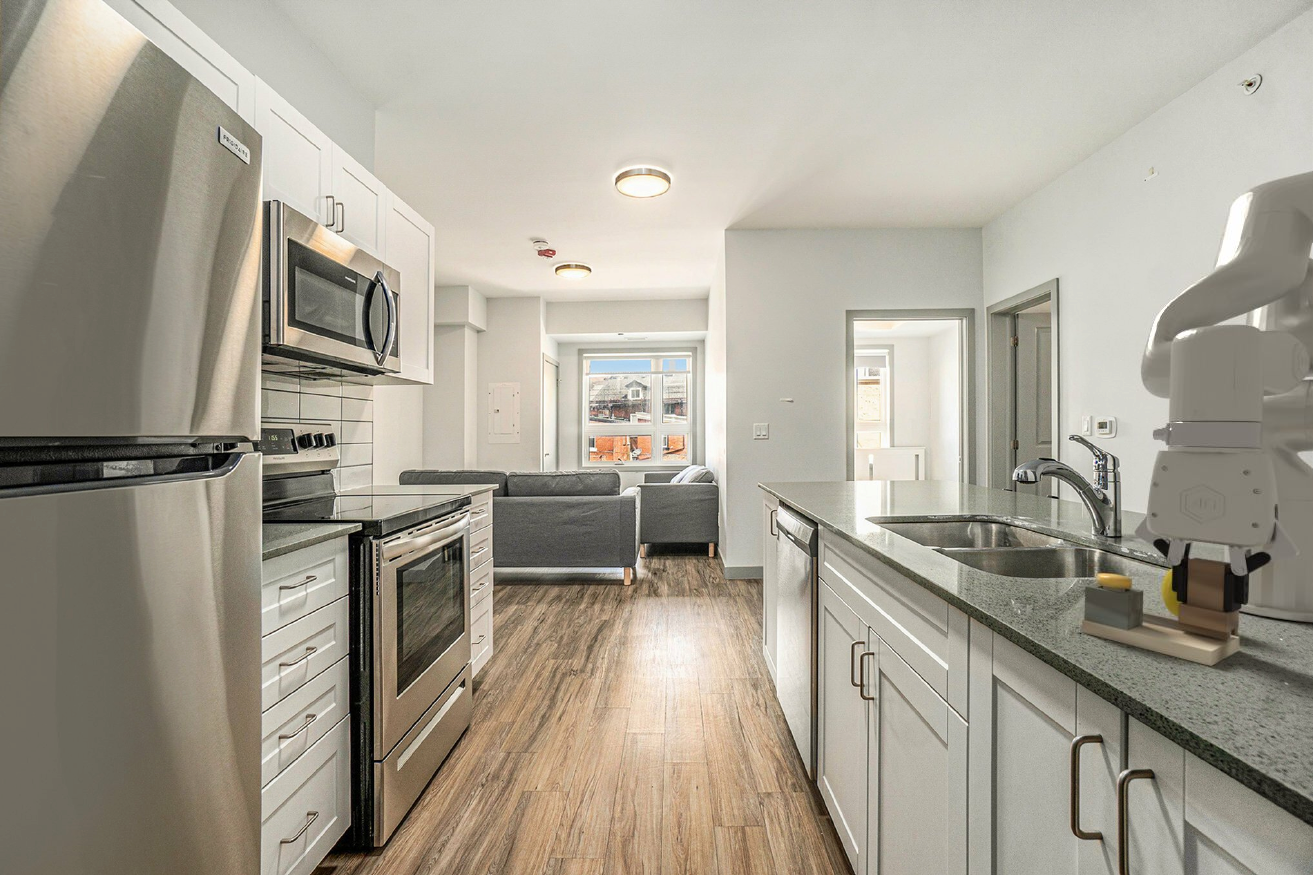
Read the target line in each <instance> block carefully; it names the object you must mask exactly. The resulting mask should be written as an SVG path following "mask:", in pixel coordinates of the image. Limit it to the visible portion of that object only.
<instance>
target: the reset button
mask: <svg viewBox="0 0 1313 875" xmlns="http://www.w3.org/2000/svg"><path fill="white" fill-rule="evenodd" d="M1096 575H1097V577H1096V584H1097V583H1098V584H1100V585H1103V589H1107V590H1112V591H1117V592H1122V593H1123V592H1125V589H1130V588H1132V589H1133V587H1132V586H1133V585H1132V584H1133V578H1131V577H1130V576H1126V575H1121V574H1117V573H1097V574H1096Z"/></svg>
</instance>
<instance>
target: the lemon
mask: <svg viewBox="0 0 1313 875" xmlns="http://www.w3.org/2000/svg"><path fill="white" fill-rule="evenodd" d="M1161 597H1162V601H1163V604H1164V605H1165V608H1166V609H1167V610H1168V611H1169V613H1171V614H1172V615H1174V616H1175V618H1178V605H1179V604H1180V603H1183V602H1179V601H1177V592H1173V591H1172V568H1170V570H1168V571H1167V572H1166V574H1165V576H1164V578H1163V580H1162V584H1161Z"/></svg>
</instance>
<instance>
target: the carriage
mask: <svg viewBox="0 0 1313 875" xmlns="http://www.w3.org/2000/svg"><path fill="white" fill-rule="evenodd" d="M1230 567H1231V563H1229V562H1224V561H1220V560H1215V559H1208V558H1202V557H1201V558H1200V557H1193V558H1190V559H1189V560H1188V585H1187V602H1183V603H1180V604H1179V605H1178V617H1177V618H1178V622H1179V628H1178V629H1182V630H1186V631H1191V632H1195V633H1199V634H1204V635H1208V636H1212V637H1217V638H1221V639H1225V640H1227V639H1229V638H1230V631H1231V635H1233V636H1237V635H1238V634H1239V626H1240V625H1239V620H1240V611H1239V610H1237V611H1235V612H1229V611H1226V609H1224V577H1225V574H1228V573H1229V568H1230Z"/></svg>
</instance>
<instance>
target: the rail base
mask: <svg viewBox="0 0 1313 875" xmlns="http://www.w3.org/2000/svg"><path fill="white" fill-rule="evenodd" d="M1084 590H1085V591H1084V613H1083V615H1084V618H1083V619H1082V621H1081V622H1082V623H1081V633H1083V634H1087V635H1091V636H1095V637H1098V638H1102V639H1107V640H1110V641H1115V642H1119V643H1122V644H1125V645H1129V646H1132V647H1136V648H1140V649H1145V650H1148V651H1153V652H1156V653H1159V654H1163V655H1167V656H1171V657H1175V658H1179V659H1182V660H1186V661H1190V662H1194V663H1198V664H1200V665H1201V664H1202V665H1205V666H1210V667H1211V666H1214V665H1216V664H1217V663H1219V662H1221V661H1224V660H1225V659H1227V658H1228V657H1230V656H1232V655H1233V654H1235V653H1237V652H1239V651H1240V641H1241V640H1240V636H1237V635H1235V636H1233V635H1231V631H1230V638H1229V639H1227V640H1225V639H1221V638H1217V637H1212V636H1208V635H1204V634H1199V633H1195V632H1191V631H1186V630H1182V629H1178V628H1179V622H1178V617H1174V616H1169V615H1165V614H1160V613H1154V612H1151V611H1145V610H1144V590H1142V589H1136V588H1133V587H1132V588H1130V589H1125V592H1123V593H1122V592H1117V591H1112V590H1107V589H1103V585H1100V584H1098V583H1097V582H1096V583H1094V584H1089V585H1085V586H1084Z"/></svg>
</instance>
